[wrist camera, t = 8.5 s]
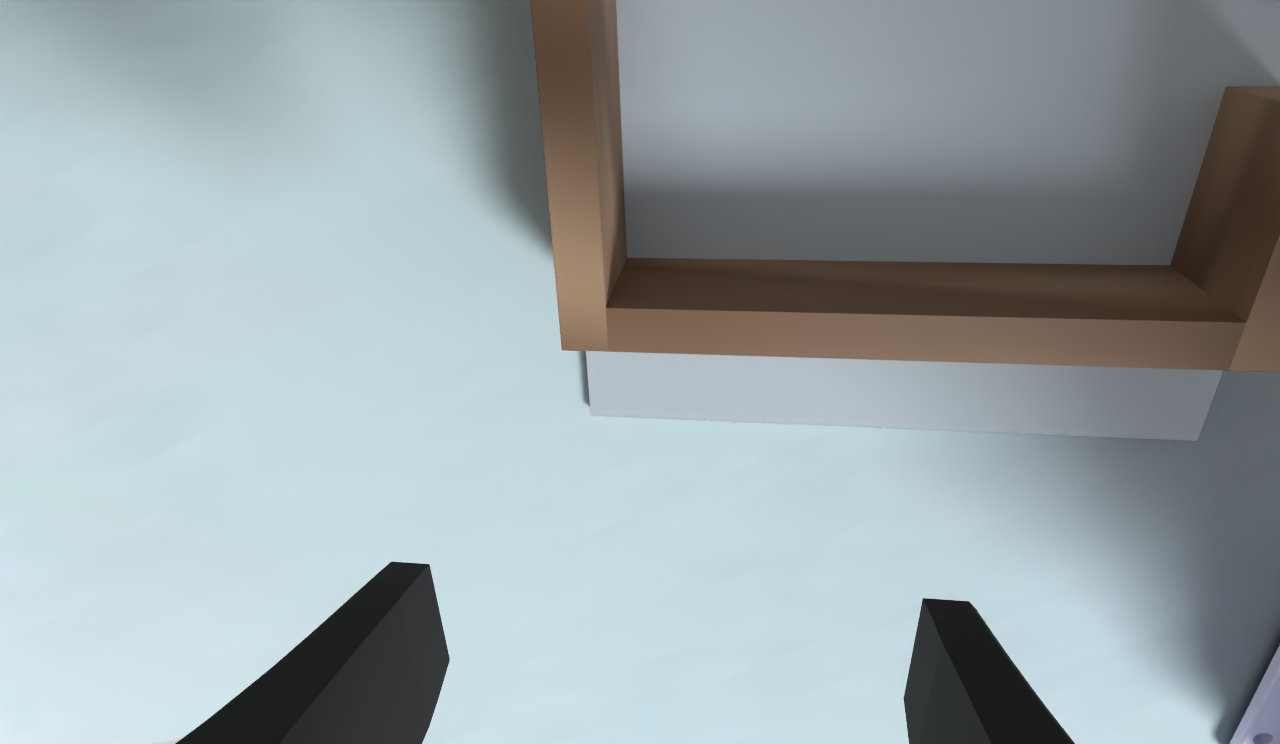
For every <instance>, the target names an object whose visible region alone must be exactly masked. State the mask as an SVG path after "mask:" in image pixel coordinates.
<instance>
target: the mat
mask: <svg viewBox="0 0 1280 744" xmlns="http://www.w3.org/2000/svg"><path fill="white" fill-rule="evenodd" d="M616 10H617V34H618V58H619V81H620V105H621V129H622V152H623V176H624V199H625V223H626V247H627V258H686V259H756V260H825V261H894V262H964V263H1033V264H1103V265H1171V261H1172V258H1173V255H1174V252H1175V248H1176V245H1177V242H1178V239H1179V236H1180V232H1181V229H1182V226H1183V223H1184V219H1185V216H1186V213H1187V210H1188V207H1189V203H1190V200H1191V197H1192V194H1193V191H1194V187H1195V184H1196V181H1197V178H1198V174H1199V171H1200V168H1201V165H1202V162H1203V158H1204V155H1205V152H1206V149H1207V146H1208V142H1209V139H1210V136H1211V133H1212V129H1213V126H1214V123H1215V120H1216V117H1217V113H1218V110H1219V107H1220V104H1221V100H1222V97H1223V94H1224V91H1225V88H1226V87H1235V86H1280V0H616ZM586 360H587V373H588V387H589V401H590V414H591V416H605V417H629V418H653V419H677V420H701V421H725V422H749V423H773V424H797V425H822V426H846V427H870V428H894V429H918V430H942V431H966V432H990V433H1014V434H1038V435H1062V436H1086V437H1110V438H1134V439H1158V440H1182V441H1198V438H1199V436H1200V433H1201V430H1202V427H1203V425H1204V422H1205V419H1206V417H1207V414H1208V411H1209V409H1210V406H1211V403H1212V401H1213V398H1214V395H1215V392H1216V390H1217V387H1218V384H1219V382H1220V379H1221V376H1222V374H1223V371H1224V370H1192V369H1159V368H1127V367H1094V366H1061V365H1028V364H996V363H963V362H930V361H897V360H865V359H832V358H799V357H766V356H734V355H701V354H668V353H635V352H603V351H586Z"/></svg>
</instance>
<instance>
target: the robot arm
mask: <svg viewBox="0 0 1280 744" xmlns="http://www.w3.org/2000/svg"><path fill="white" fill-rule="evenodd" d="M449 660H450V659H449V654H448V650H447V645H446V640H445V636H444V631H443V626H442V622H441V617H440V612H439V607H438V603H437V598H436V593H435V589H434V584H433V579H432V574H431V570H430V565H429V564H417V563H402V562H391V563H389V564H388V565H387V566H386V567H385V568H384V569H383V570H381V571H380V572H379V573H378V574H377V575H376V576H375V577H374V578H372V579H371V580H370V581H369V582H368V583H367V584H366V585H365V586H363V587H362V588H361V589H360V590H359V591H358V592H357V593H356V594H354V595H353V596H352V597H351V598H350V599H349V600H348V601H347V602H346V603H345V604H343V605H342V606H341V607H340V608H339V609H338V610H337V611H336V612H335V613H333V614H332V615H331V616H330V617H329V618H328V619H327V620H326V621H325V622H323V623H322V624H321V625H320V626H319V627H318V628H317V629H316V630H314V631H313V632H312V633H311V634H310V635H309V636H308V637H306V638H305V639H304V640H303V641H302V642H301V643H300V644H298V645H297V646H296V647H295V648H294V649H293V650H292V651H290V652H289V653H288V654H287V655H286V656H285V657H284V658H282V659H281V660H280V661H279V662H278V663H277V664H275V665H274V666H273V667H272V668H271V669H270V670H268V671H267V672H266V673H265V674H264V675H262V676H261V677H260V678H259V679H257V680H256V681H255V682H254V683H252V684H251V685H250V686H249V687H247V688H246V689H245V690H244V691H243V692H241V693H240V694H239V695H238V696H236V697H235V698H234V699H233V700H231V701H230V702H229V703H228V704H226V705H225V706H224V707H223V708H222V709H220V710H219V711H218V712H217V713H215V714H214V715H213V716H212V717H210V718H209V719H208V720H206V721H205V722H204V723H203V724H201V725H200V726H199V727H197V728H196V729H195V730H193V731H192V732H191V733H189V734H188V735H187V736H185V737H184V738H182V739H181V740H180V741H178V742H177V743H176V744H422V742H423V739H424V737H425V735H426V732H427V730H428V728H429V725H430V722H431V719H432V716H433V713H434V710H435V707H436V704H437V701H438V697H439V694H440V691H441V687H442V684H443V681H444V677H445V674H446V670H447V667H448V664H449ZM904 704H905V712H906V721H907V729H908V737H909V744H1075V743H1074V742H1073V741H1072V739H1071V738H1070V737H1069V736H1068V734H1067V733H1066V732H1065V731H1064V729H1063V728H1062V727H1061V725H1060V724H1059V723H1058V722H1057V720H1056V719H1055V718H1054V717H1053V715H1052V714H1051V713H1050V711H1049V710H1048V709H1047V708H1046V706H1045V705H1044V704H1043V702H1042V701H1041V700H1040V698H1039V697H1038V696H1037V694H1036V693H1035V692H1034V690H1033V689H1032V688H1031V686H1030V685H1029V684H1028V682H1027V681H1026V679H1025V678H1024V677H1023V675H1022V674H1021V673H1020V671H1019V670H1018V668H1017V667H1016V666H1015V664H1014V663H1013V662H1012V660H1011V659H1010V657H1009V656H1008V655H1007V653H1006V652H1005V650H1004V649H1003V648H1002V646H1001V645H1000V643H999V642H998V640H997V639H996V638H995V636H994V635H993V633H992V632H991V630H990V629H989V627H988V626H987V625H986V623H985V622H984V620H983V619H982V617H981V616H980V614H979V613H978V611H977V610H976V609H975V607H974V606H973V605H972V604H971V603H970V602H968V601H954V600H939V599H925V598H923V601H922V606H921V611H920V617H919V622H918V627H917V632H916V638H915V643H914V648H913V653H912V658H911V664H910V669H909V674H908V679H907V685H906V690H905V695H904ZM1230 744H1280V645H1279V647H1278V649H1277V651H1276V653H1275V655H1274V657H1273V659H1272V661H1271V663H1270V665H1269V667H1268V669H1267V671H1266V673H1265V675H1264V677H1263V679H1262V681H1261V683H1260V685H1259V687H1258V689H1257V690H1256V692H1255V694H1254V696H1253V698H1252V700H1251V702H1250V704H1249V706H1248V708H1247V710H1246V712H1245V714H1244V716H1243V718H1242V720H1241V722H1240V724H1239V726H1238V728H1237V730H1236V732H1235V734H1234V736H1233V738H1232V740H1231V742H1230Z"/></svg>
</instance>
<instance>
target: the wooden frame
mask: <svg viewBox="0 0 1280 744" xmlns="http://www.w3.org/2000/svg"><path fill="white" fill-rule="evenodd" d="M530 1H531V12H532V23H533V34H534V45H535V56H536V68H537V79H538V90H539V101H540V112H541V123H542V134H543V145H544V157H545V168H546V179H547V190H548V201H549V212H550V223H551V235H552V246H553V257H554V268H555V279H556V290H557V301H558V313H559V324H560V335H561V346H562V350H570V351H603V352H635V353H668V354H701V355H734V356H766V357H799V358H832V359H865V360H897V361H930V362H963V363H996V364H1028V365H1061V366H1094V367H1127V368H1159V369H1192V370H1225V371H1258V372H1280V86H1235V87H1226V88H1225V91H1224V94H1223V97H1222V100H1221V104H1220V107H1219V110H1218V113H1217V117H1216V120H1215V123H1214V126H1213V129H1212V133H1211V136H1210V139H1209V142H1208V146H1207V149H1206V152H1205V155H1204V158H1203V162H1202V165H1201V168H1200V171H1199V174H1198V178H1197V181H1196V184H1195V187H1194V191H1193V194H1192V197H1191V200H1190V203H1189V207H1188V210H1187V213H1186V216H1185V219H1184V223H1183V226H1182V229H1181V232H1180V236H1179V239H1178V242H1177V245H1176V248H1175V252H1174V255H1173V258H1172V261H1171V265H1103V264H1033V263H964V262H894V261H825V260H756V259H686V258H627V247H626V223H625V199H624V176H623V152H622V129H621V105H620V81H619V58H618V34H617V10H616V0H530Z"/></svg>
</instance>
